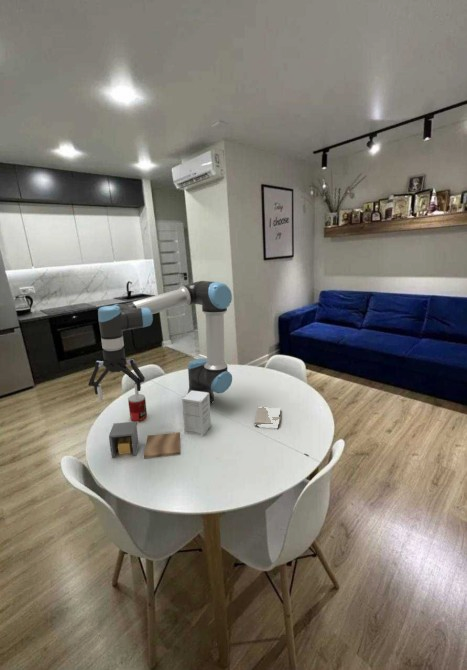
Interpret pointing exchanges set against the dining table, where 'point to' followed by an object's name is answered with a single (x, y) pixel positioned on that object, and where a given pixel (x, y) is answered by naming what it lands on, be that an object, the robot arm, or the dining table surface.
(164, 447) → the walnut board
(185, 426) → the supplement box
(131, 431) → the grey box with opening
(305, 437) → the dining table surface
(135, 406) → the canned food
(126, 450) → the letter cube
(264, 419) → the washcloth
